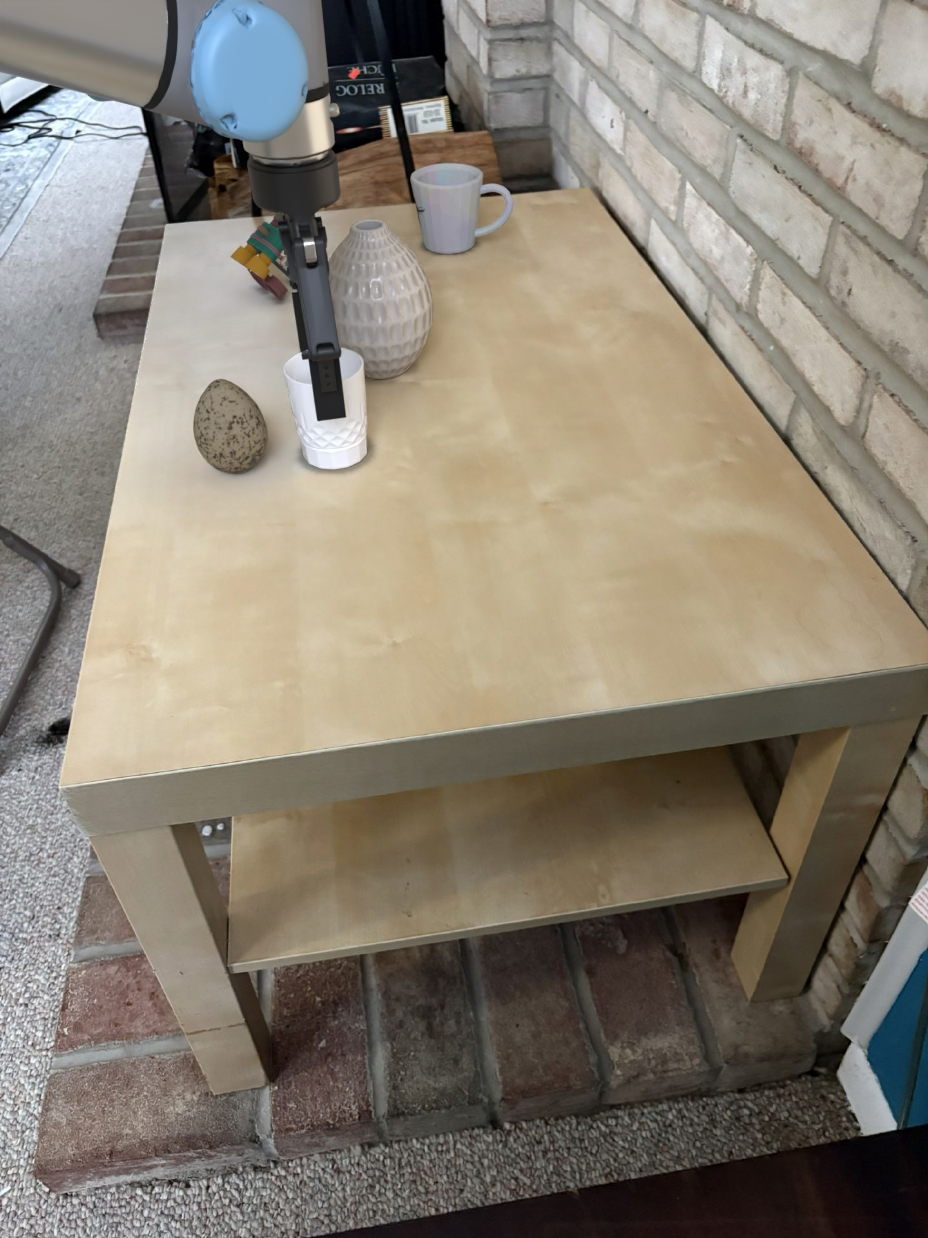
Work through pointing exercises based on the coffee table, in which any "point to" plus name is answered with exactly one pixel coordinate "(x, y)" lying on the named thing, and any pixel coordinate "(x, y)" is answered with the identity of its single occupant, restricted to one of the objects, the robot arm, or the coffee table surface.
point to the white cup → (337, 437)
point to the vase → (380, 299)
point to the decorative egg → (229, 428)
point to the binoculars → (264, 256)
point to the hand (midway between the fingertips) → (322, 383)
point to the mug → (453, 206)
